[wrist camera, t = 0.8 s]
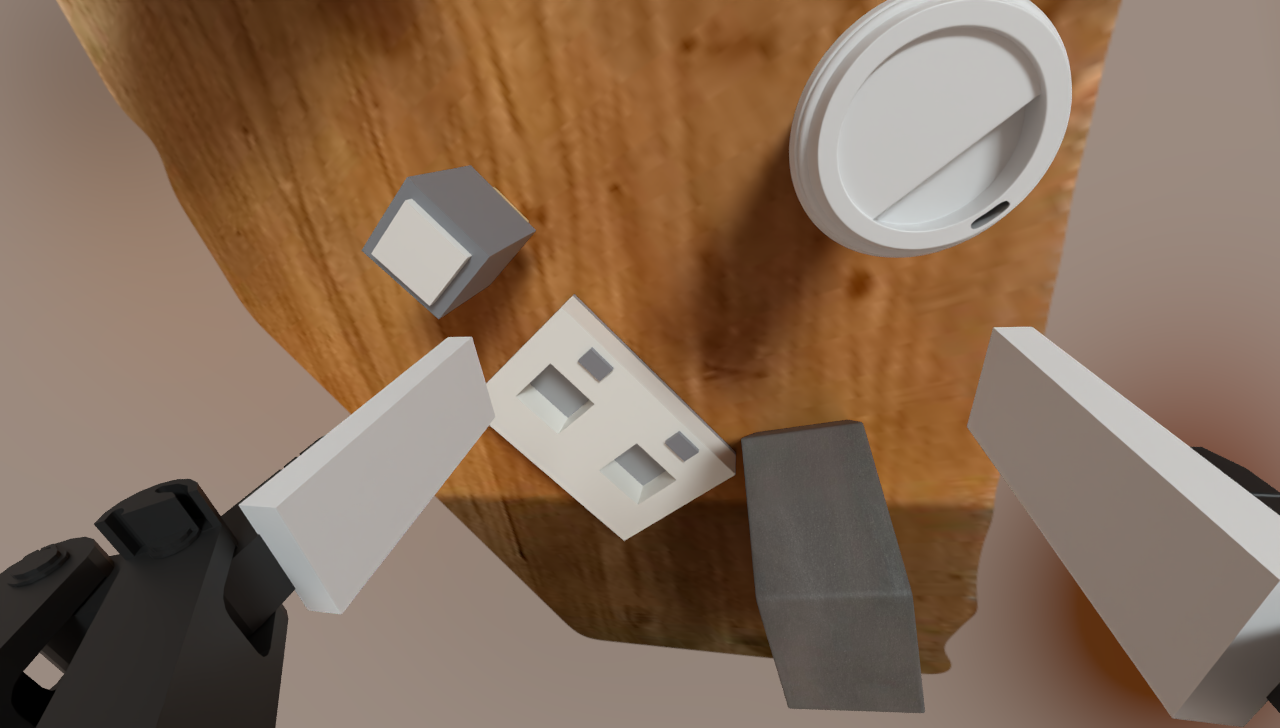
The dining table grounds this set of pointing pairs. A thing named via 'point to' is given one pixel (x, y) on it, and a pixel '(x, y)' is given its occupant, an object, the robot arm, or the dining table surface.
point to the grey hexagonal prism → (830, 571)
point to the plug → (447, 237)
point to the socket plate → (605, 423)
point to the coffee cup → (929, 123)
